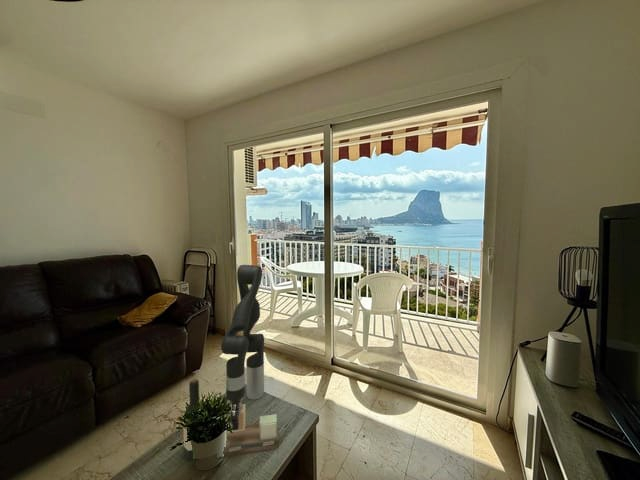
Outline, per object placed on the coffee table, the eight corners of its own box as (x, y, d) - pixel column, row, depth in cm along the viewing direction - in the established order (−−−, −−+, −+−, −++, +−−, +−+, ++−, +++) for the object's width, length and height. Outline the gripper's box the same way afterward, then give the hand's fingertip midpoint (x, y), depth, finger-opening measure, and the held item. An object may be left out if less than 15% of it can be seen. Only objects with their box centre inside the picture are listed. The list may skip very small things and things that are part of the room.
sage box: (260, 434, 108) (259, 416, 108) (276, 431, 109) (276, 414, 109) (259, 443, 103) (259, 424, 103) (276, 440, 105) (276, 422, 104)
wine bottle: (197, 462, 97) (195, 388, 95) (179, 458, 99) (177, 385, 97) (211, 444, 105) (209, 375, 103) (193, 441, 107) (192, 373, 105)
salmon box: (228, 424, 105) (227, 406, 105) (245, 422, 106) (245, 403, 106) (226, 433, 100) (226, 414, 100) (244, 430, 102) (244, 411, 101)
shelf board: (222, 433, 111) (222, 426, 110) (277, 425, 115) (277, 417, 115) (216, 459, 99) (216, 450, 98) (278, 448, 103) (278, 440, 103)
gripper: (243, 394, 96) (244, 436, 97) (246, 373, 110) (247, 410, 111) (222, 397, 95) (223, 440, 96) (228, 375, 109) (229, 413, 110)
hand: (236, 424), depth 103 cm, fingers closed on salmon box, 4 cm apart
